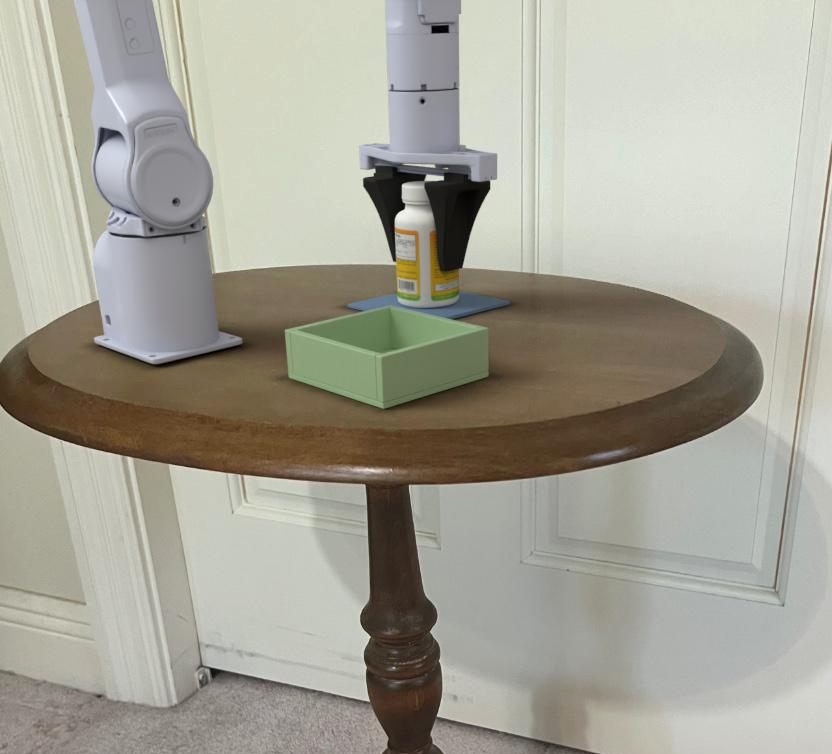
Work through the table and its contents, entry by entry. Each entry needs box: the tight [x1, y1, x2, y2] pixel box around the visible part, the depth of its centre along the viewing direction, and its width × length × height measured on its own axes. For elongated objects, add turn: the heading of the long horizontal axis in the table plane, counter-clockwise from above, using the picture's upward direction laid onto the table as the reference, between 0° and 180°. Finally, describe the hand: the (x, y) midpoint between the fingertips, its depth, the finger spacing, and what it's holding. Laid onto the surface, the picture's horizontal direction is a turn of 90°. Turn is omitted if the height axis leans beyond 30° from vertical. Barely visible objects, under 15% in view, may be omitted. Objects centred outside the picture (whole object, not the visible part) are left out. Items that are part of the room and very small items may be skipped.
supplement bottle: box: [395, 180, 460, 308], centre depth 92 cm, size 5×5×10 cm
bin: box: [284, 305, 490, 410], centre depth 75 cm, size 10×10×3 cm
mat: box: [347, 290, 510, 320], centre depth 94 cm, size 10×10×1 cm
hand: (427, 264), depth 93 cm, fingers closed on supplement bottle, 5 cm apart
